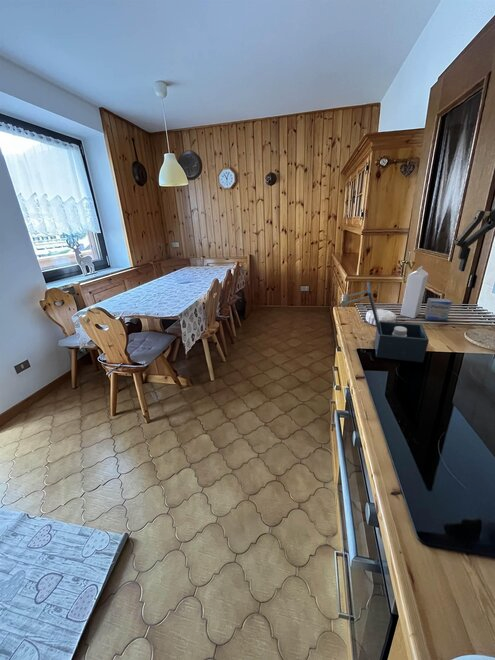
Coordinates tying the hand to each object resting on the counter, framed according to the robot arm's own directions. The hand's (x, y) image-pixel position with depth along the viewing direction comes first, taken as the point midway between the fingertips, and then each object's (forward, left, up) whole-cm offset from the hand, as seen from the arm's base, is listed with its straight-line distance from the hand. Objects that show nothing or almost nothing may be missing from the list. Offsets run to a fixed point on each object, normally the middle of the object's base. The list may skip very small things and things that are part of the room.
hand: (488, 270), depth 81 cm
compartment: (+16, +10, -31) cm, 36 cm away
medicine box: (+20, -27, -31) cm, 46 cm away
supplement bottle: (+16, +10, -30) cm, 36 cm away
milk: (+29, -23, -31) cm, 48 cm away
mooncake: (+34, -8, -31) cm, 47 cm away
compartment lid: (+24, +16, -14) cm, 32 cm away
